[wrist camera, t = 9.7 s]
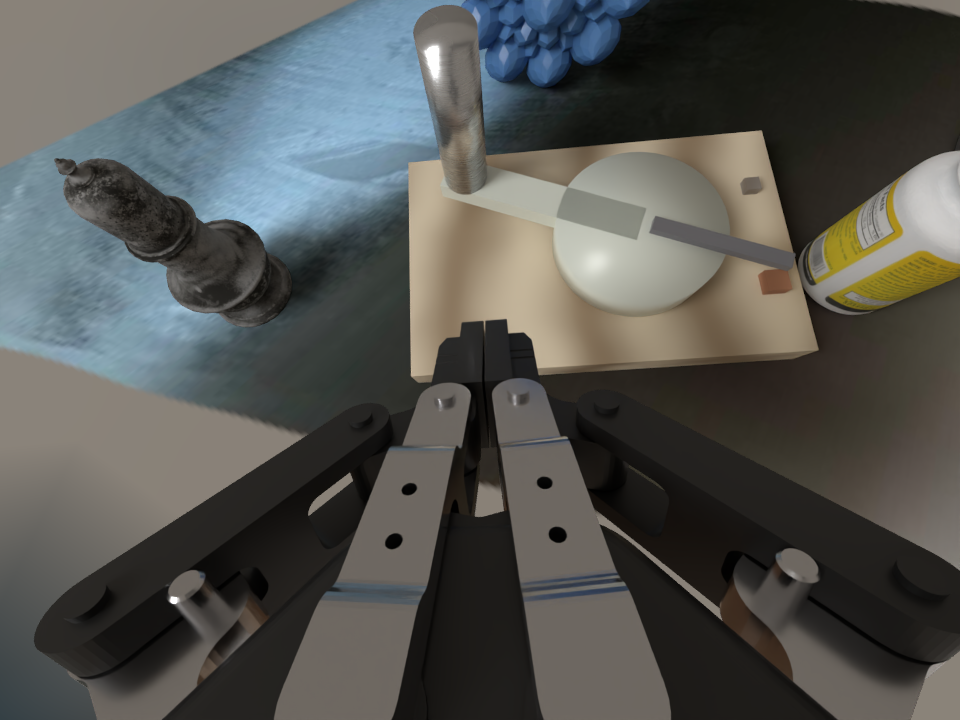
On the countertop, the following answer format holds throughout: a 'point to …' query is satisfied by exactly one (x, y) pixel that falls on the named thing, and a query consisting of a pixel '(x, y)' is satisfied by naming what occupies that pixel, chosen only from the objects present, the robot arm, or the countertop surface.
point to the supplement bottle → (890, 242)
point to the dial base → (570, 320)
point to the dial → (583, 194)
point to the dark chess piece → (181, 243)
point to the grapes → (547, 34)
